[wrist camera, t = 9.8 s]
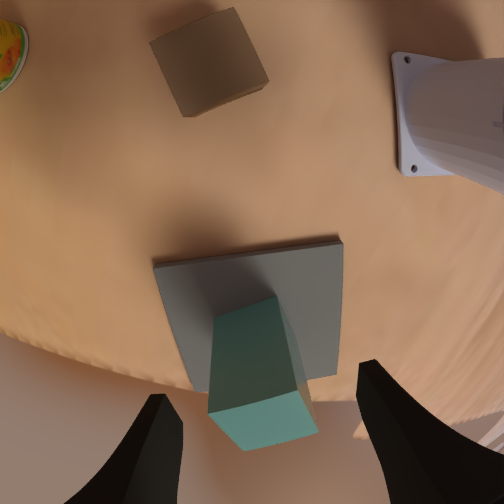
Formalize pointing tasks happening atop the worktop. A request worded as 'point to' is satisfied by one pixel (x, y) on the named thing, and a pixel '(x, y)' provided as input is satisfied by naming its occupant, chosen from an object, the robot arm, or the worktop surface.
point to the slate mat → (253, 291)
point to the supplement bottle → (11, 52)
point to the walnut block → (209, 63)
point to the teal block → (258, 378)
